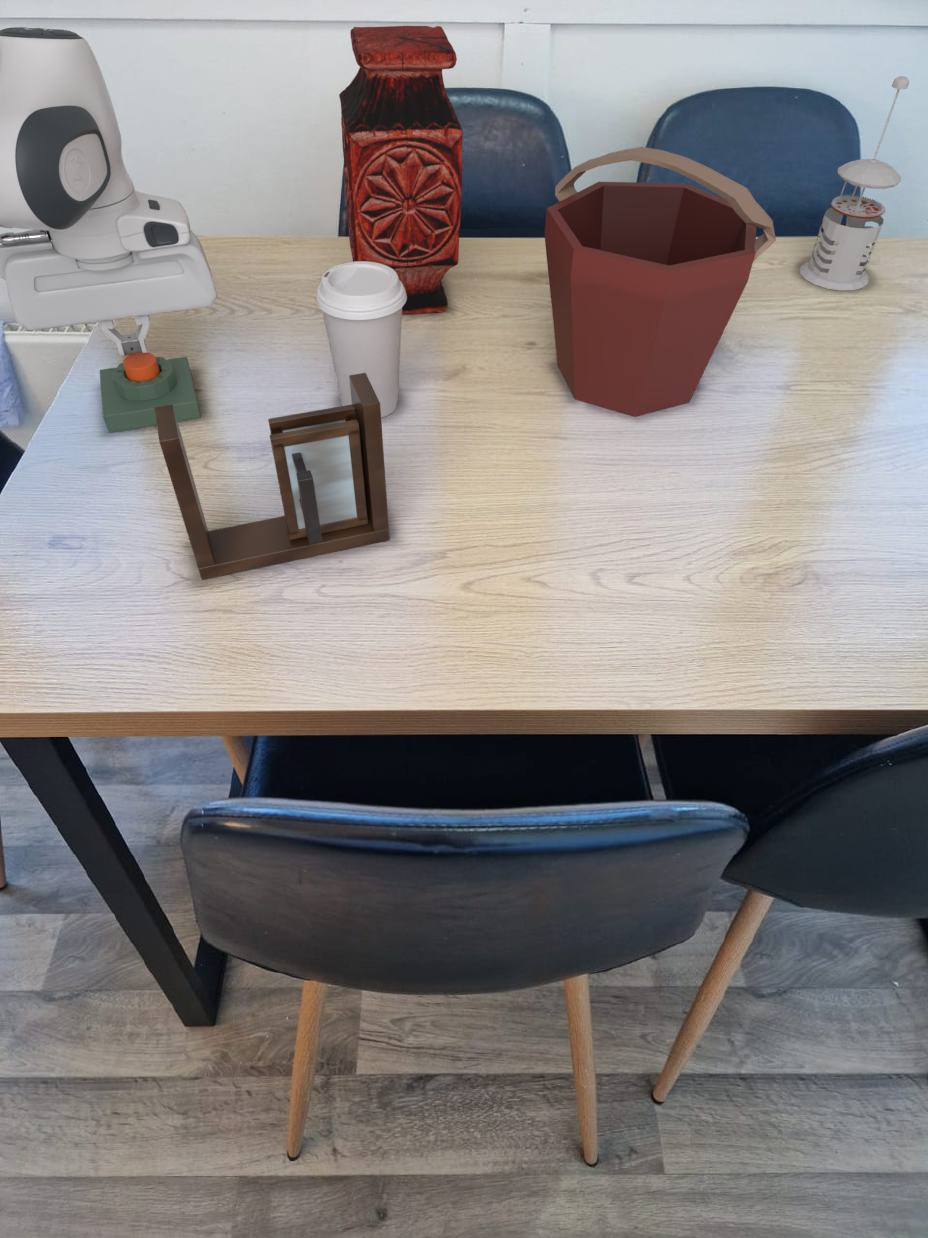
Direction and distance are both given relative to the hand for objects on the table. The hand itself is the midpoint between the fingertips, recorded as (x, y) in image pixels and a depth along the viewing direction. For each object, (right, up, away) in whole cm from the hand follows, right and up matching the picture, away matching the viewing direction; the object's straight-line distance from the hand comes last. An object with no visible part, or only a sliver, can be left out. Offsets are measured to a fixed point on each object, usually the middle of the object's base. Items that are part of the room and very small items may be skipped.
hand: (133, 352), depth 92 cm
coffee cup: (+26, -4, +5) cm, 26 cm away
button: (0, -2, +2) cm, 3 cm away
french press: (+91, +21, +30) cm, 98 cm away
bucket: (+56, 0, +10) cm, 57 cm away
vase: (+28, +15, +23) cm, 39 cm away
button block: (0, -4, +5) cm, 6 cm away
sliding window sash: (+24, -23, -14) cm, 36 cm away
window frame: (+20, -22, -11) cm, 32 cm away
